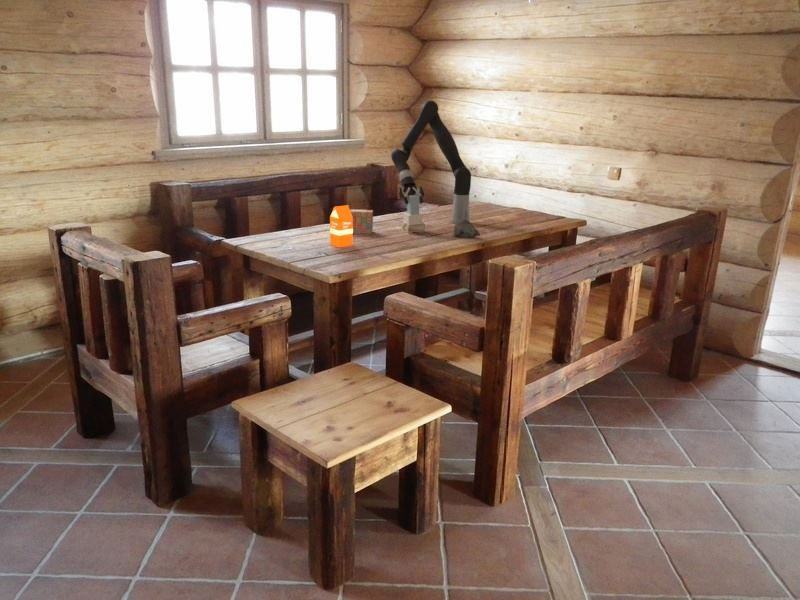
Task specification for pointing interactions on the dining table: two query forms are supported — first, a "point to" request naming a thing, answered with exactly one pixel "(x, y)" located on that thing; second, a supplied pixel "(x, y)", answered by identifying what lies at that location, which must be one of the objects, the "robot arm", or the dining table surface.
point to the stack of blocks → (362, 221)
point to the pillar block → (413, 205)
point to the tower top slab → (412, 218)
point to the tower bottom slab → (413, 227)
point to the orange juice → (341, 227)
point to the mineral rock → (465, 229)
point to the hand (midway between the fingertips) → (414, 203)
